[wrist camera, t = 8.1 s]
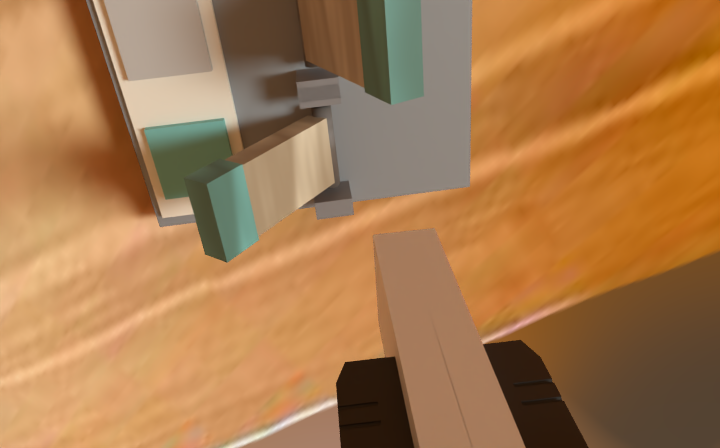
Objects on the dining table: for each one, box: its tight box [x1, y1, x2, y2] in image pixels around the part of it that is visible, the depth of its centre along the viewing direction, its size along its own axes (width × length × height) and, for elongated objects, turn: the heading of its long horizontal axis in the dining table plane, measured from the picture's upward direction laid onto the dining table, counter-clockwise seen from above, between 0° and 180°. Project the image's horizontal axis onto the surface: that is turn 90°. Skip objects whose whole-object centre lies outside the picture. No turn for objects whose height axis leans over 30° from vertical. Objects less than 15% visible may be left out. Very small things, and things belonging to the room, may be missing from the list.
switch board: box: [86, 0, 472, 227], centre depth 26 cm, size 18×21×4 cm
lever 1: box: [184, 105, 340, 262], centre depth 26 cm, size 1×4×9 cm
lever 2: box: [296, 0, 424, 105], centre depth 22 cm, size 1×4×9 cm, turn 5°
